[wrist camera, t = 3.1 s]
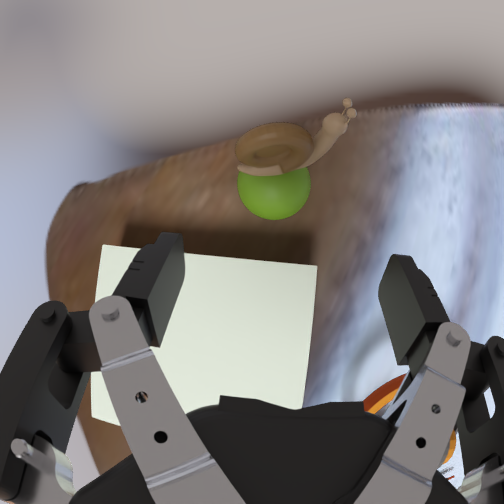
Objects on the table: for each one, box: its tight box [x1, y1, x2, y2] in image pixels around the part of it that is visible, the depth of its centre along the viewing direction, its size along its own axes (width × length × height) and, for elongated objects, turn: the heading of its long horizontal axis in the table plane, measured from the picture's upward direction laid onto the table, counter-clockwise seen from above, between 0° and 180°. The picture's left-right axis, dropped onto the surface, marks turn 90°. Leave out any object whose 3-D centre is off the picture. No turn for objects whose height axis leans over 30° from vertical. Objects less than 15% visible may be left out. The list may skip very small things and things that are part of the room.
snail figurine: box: [235, 98, 357, 220], centre depth 19 cm, size 5×6×12 cm
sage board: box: [91, 245, 317, 426], centre depth 21 cm, size 16×14×3 cm
